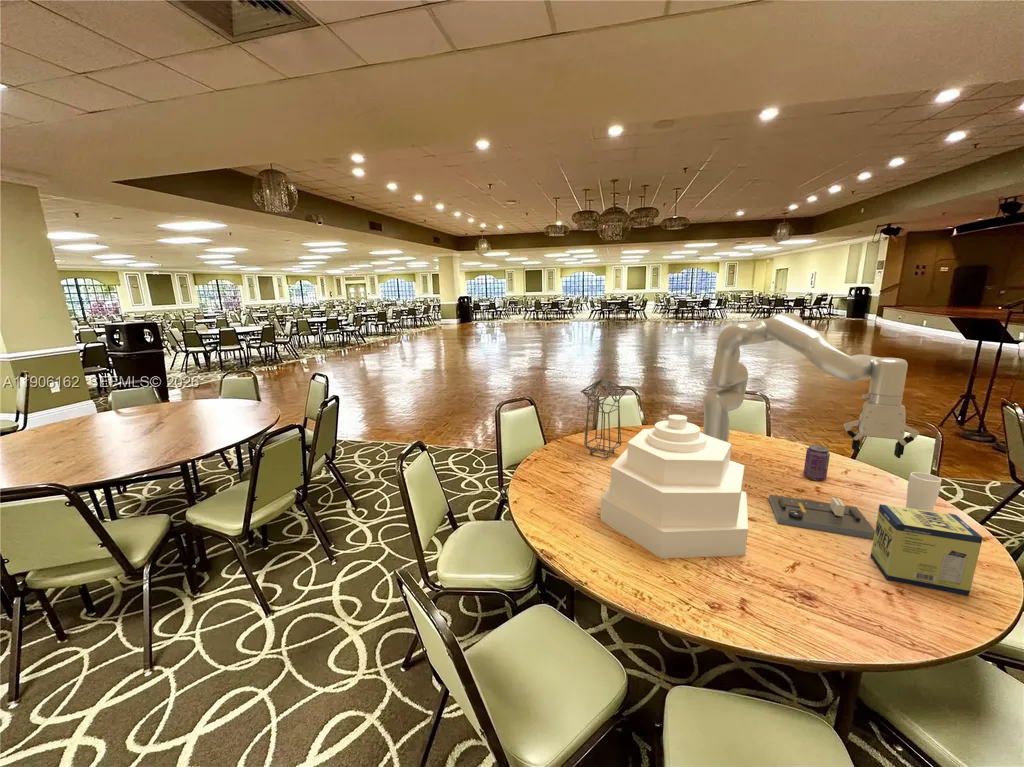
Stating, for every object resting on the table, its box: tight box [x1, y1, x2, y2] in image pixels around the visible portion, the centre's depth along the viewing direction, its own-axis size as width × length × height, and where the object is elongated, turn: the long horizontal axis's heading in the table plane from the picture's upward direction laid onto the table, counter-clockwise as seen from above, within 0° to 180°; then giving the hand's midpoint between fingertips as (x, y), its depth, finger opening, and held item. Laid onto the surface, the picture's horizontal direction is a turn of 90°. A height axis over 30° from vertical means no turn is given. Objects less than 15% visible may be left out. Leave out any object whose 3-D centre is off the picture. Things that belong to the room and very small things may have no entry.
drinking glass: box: [905, 471, 942, 512], centre depth 124 cm, size 7×7×15 cm
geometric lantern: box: [580, 377, 628, 459], centre depth 180 cm, size 16×16×35 cm
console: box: [768, 494, 875, 540], centre depth 129 cm, size 24×16×3 cm, turn 67°
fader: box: [830, 497, 846, 516], centre depth 128 cm, size 2×5×4 cm, turn 157°
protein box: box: [870, 503, 984, 597], centre depth 101 cm, size 10×16×16 cm
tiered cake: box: [600, 414, 749, 559], centre depth 127 cm, size 44×45×34 cm
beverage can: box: [803, 444, 831, 481], centre depth 156 cm, size 7×7×12 cm
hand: (876, 454), depth 125 cm, fingers open, 9 cm apart
